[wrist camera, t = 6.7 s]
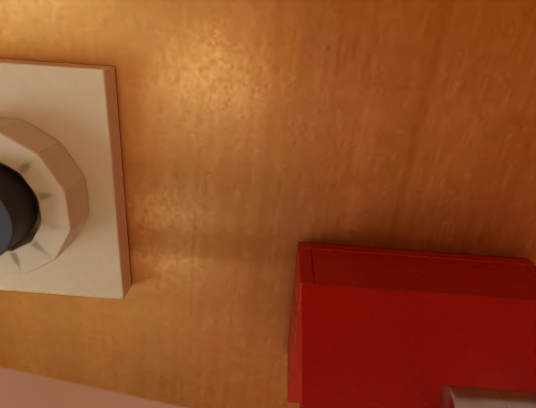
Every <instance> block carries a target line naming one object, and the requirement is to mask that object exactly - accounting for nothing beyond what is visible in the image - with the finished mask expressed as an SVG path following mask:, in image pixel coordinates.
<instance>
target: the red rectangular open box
mask: <svg viewBox="0 0 536 408" xmlns="http://www.w3.org/2000/svg"><path fill="white" fill-rule="evenodd" d="M301 284H314V285H328V286H341V287H354V288H367V289H381V290H394V291H407V292H420V293H434V294H447V295H460V296H473V297H487V298H500V299H513V300H527V301H536V266H534V264H533V263H532V262H531V261H530V260H529V259H520V258H506V257H493V256H479V255H465V254H452V253H438V252H425V251H411V250H398V249H384V248H371V247H357V246H344V245H330V244H317V243H303V242H299V243H298V250H297V260H296V270H295V280H294V290H293V300H292V310H291V320H290V330H289V340H288V402H292V403H300V288H301Z"/></svg>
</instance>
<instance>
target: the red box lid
mask: <svg viewBox="0 0 536 408" xmlns="http://www.w3.org/2000/svg"><path fill="white" fill-rule="evenodd" d="M300 408H536V301H527V300H513V299H500V298H487V297H473V296H460V295H447V294H434V293H420V292H407V291H394V290H381V289H367V288H354V287H341V286H328V285H314V284H301V288H300Z"/></svg>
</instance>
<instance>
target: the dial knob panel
mask: <svg viewBox="0 0 536 408" xmlns="http://www.w3.org/2000/svg"><path fill="white" fill-rule="evenodd" d="M0 165H2V166H4V167H6V168H8V169H10V170H12V171H13V172H15V173H16V174H17V175H19V176H20V177H21V178H22V179H23V180H24V181H25V182H26V183H27V185H28V186H29V187H30V189H31V191H32V192H33V194H34V197H35V199H36V203H37V209H38V214H37V220H36V223H35V226H34V227H33V229H32V230H31V231H30V233H28V234H27V235H26V236H25V237H24V238H22V239H21V240H20V241H19V242H17V243H16V244H15V245H14V246H12V247H11V248H10V249H9V250H7V251H6V252H5V253H4V254H2V255H1V256H0V290H9V291H22V292H35V293H48V294H61V295H74V296H87V297H100V298H113V299H124V298H125V296H126V294H127V293H128V291H129V289H130V288H131V274H130V261H129V248H128V235H127V222H126V209H125V196H124V183H123V170H122V157H121V144H120V131H119V118H118V105H117V93H116V80H115V68H114V67H113V66H100V65H86V64H71V63H56V62H42V61H27V60H12V59H0Z"/></svg>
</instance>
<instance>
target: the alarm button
mask: <svg viewBox="0 0 536 408" xmlns="http://www.w3.org/2000/svg"><path fill="white" fill-rule="evenodd" d="M37 214H38V209H37V203H36V199H35V197H34V194H33V192H32V191H31V189H30V187H29V186H28V185H27V183H26V182H25V181H24V180H23V179H22V178H21V177H20V176H19V175H17V174H16V173H15V172H13V171H12V170H10V169H8V168H6V167H4V166H2V165H0V256H1V255H2V254H4V253H5V252H6V251H7V250H9V249H10V248H11V247H12V246H14V245H15V244H16V243H17V242H19V241H20V240H21V239H22V238H24V237H25V236H26V235H27V234H28V233H30V231H31V230H32V229H33V227H34V226H35V223H36V220H37Z"/></svg>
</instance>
